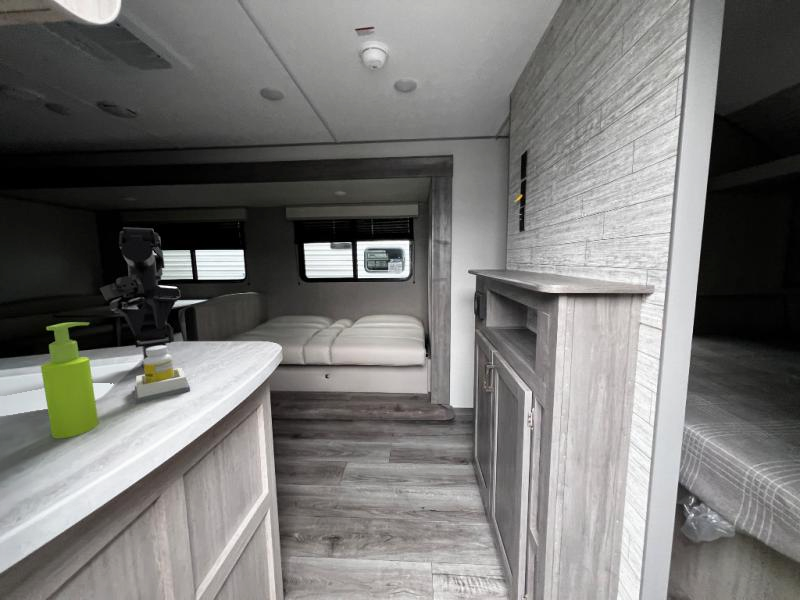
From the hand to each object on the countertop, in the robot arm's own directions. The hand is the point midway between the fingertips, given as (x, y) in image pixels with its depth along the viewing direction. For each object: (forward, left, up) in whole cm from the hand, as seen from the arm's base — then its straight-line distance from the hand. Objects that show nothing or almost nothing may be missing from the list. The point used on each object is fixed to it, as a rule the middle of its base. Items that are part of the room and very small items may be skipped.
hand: (148, 331), depth 79 cm
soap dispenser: (+21, -12, -13) cm, 28 cm away
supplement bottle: (+10, +1, -12) cm, 16 cm away
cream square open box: (+10, +1, -13) cm, 17 cm away
